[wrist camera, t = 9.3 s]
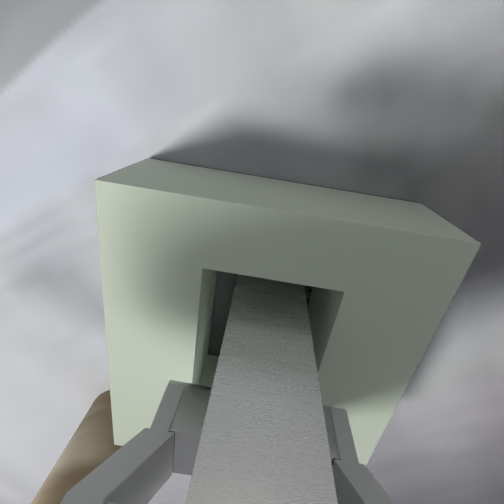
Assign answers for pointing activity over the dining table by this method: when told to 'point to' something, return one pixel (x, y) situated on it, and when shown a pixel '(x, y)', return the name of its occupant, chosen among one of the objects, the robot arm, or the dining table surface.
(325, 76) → the dining table surface
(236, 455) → the grey rectangular block
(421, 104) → the dining table surface
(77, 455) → the round beech peg
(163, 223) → the slot block
